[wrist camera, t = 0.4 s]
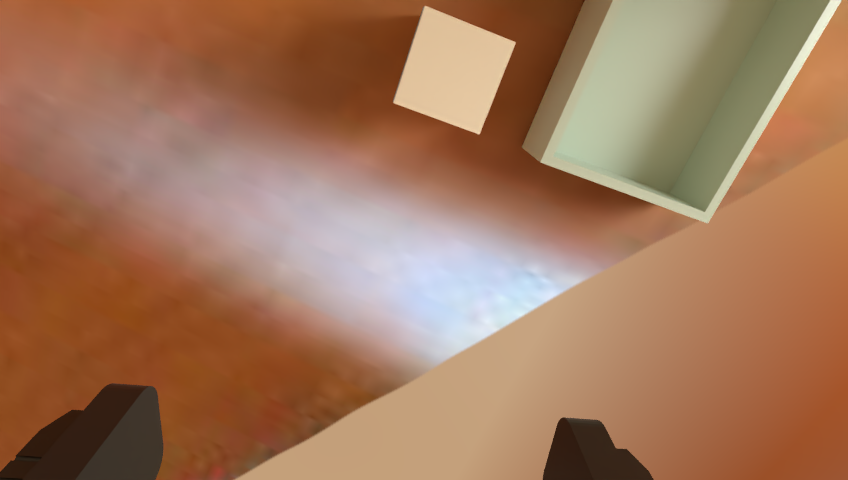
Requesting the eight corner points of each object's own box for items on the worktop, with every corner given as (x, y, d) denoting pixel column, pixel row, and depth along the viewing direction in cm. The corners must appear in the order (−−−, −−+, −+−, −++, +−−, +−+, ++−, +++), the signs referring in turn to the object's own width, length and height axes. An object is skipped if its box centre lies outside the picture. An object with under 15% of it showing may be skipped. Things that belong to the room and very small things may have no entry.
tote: (647, -147, 28) (696, -187, 23) (815, -63, 30) (892, -85, 25) (521, 147, 34) (540, 162, 29) (668, 201, 36) (707, 223, 31)
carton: (420, 14, 30) (424, 4, 24) (493, 44, 31) (517, 41, 25) (394, 93, 32) (392, 103, 26) (465, 119, 33) (480, 135, 26)
